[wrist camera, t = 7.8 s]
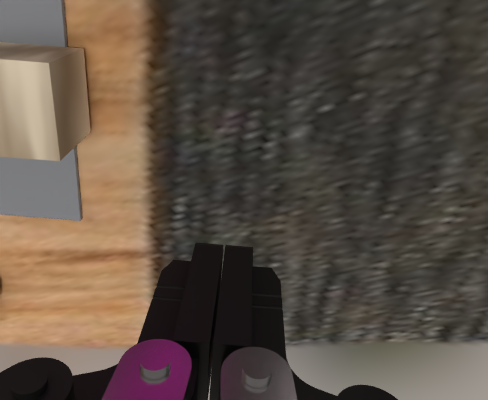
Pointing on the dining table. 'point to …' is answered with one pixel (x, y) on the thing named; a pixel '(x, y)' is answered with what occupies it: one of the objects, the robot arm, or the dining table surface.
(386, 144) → the dining table surface
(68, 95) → the birch block
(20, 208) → the mat
